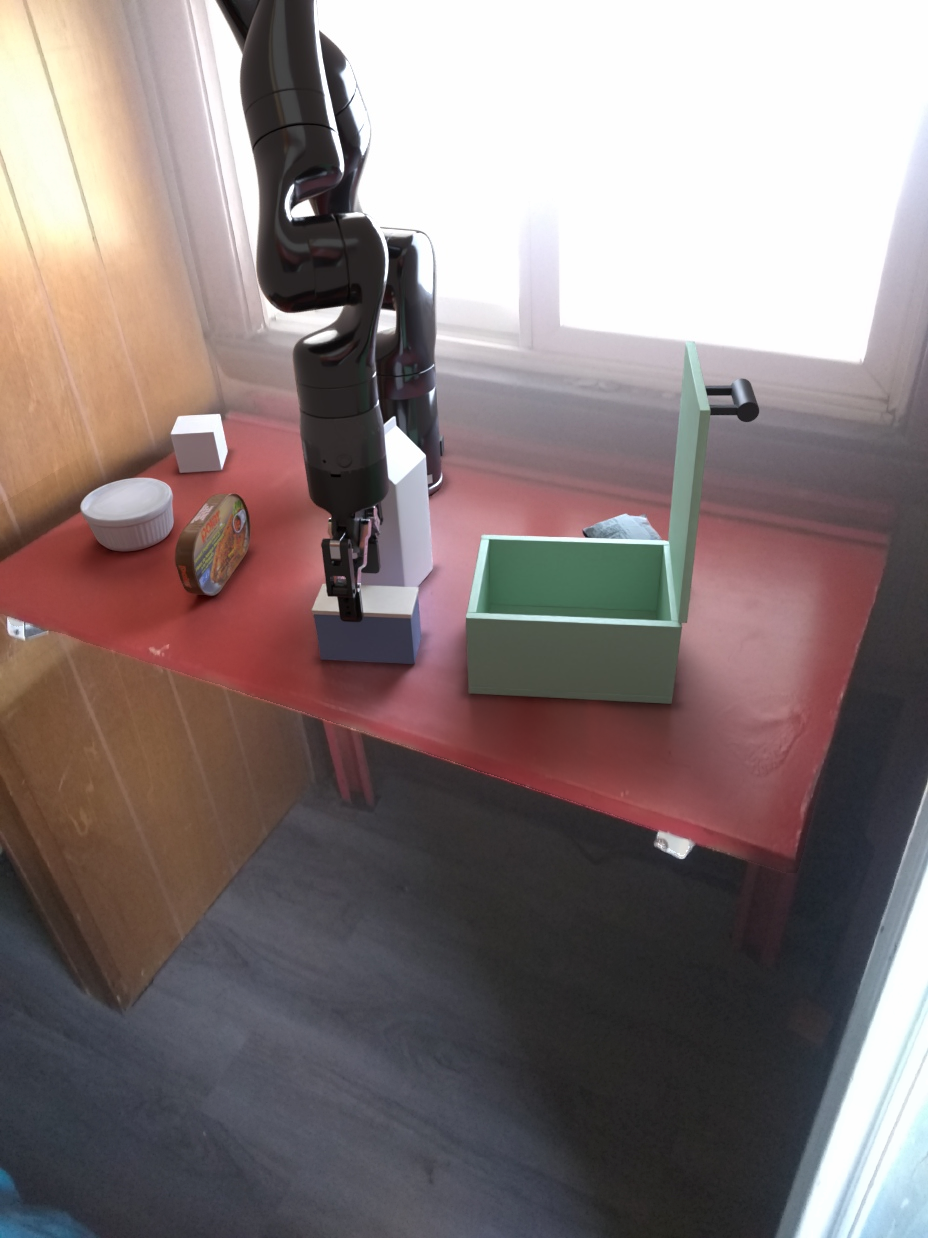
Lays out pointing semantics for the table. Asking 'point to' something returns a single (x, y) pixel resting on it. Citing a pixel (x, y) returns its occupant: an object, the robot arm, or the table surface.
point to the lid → (696, 464)
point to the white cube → (199, 443)
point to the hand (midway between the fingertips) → (361, 594)
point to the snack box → (370, 626)
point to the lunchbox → (573, 619)
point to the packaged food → (623, 529)
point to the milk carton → (403, 516)
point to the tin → (213, 544)
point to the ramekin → (129, 513)
